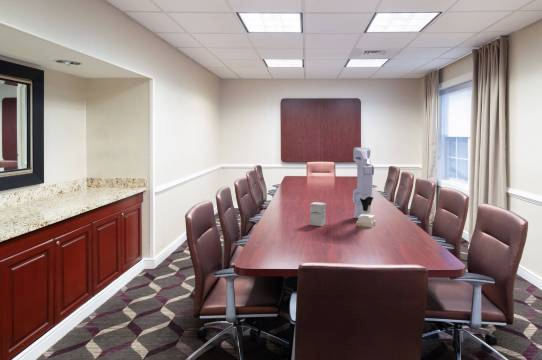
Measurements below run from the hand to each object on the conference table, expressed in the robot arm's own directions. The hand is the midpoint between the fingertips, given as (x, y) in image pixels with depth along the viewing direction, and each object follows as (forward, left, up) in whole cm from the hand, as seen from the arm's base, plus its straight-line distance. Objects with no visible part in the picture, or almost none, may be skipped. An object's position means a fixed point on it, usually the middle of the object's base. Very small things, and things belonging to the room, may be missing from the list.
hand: (366, 210), depth 224 cm
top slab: (0, 0, -6) cm, 6 cm away
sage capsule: (0, 0, -1) cm, 1 cm away
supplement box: (+12, -25, -9) cm, 29 cm away
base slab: (0, 0, -9) cm, 9 cm away
